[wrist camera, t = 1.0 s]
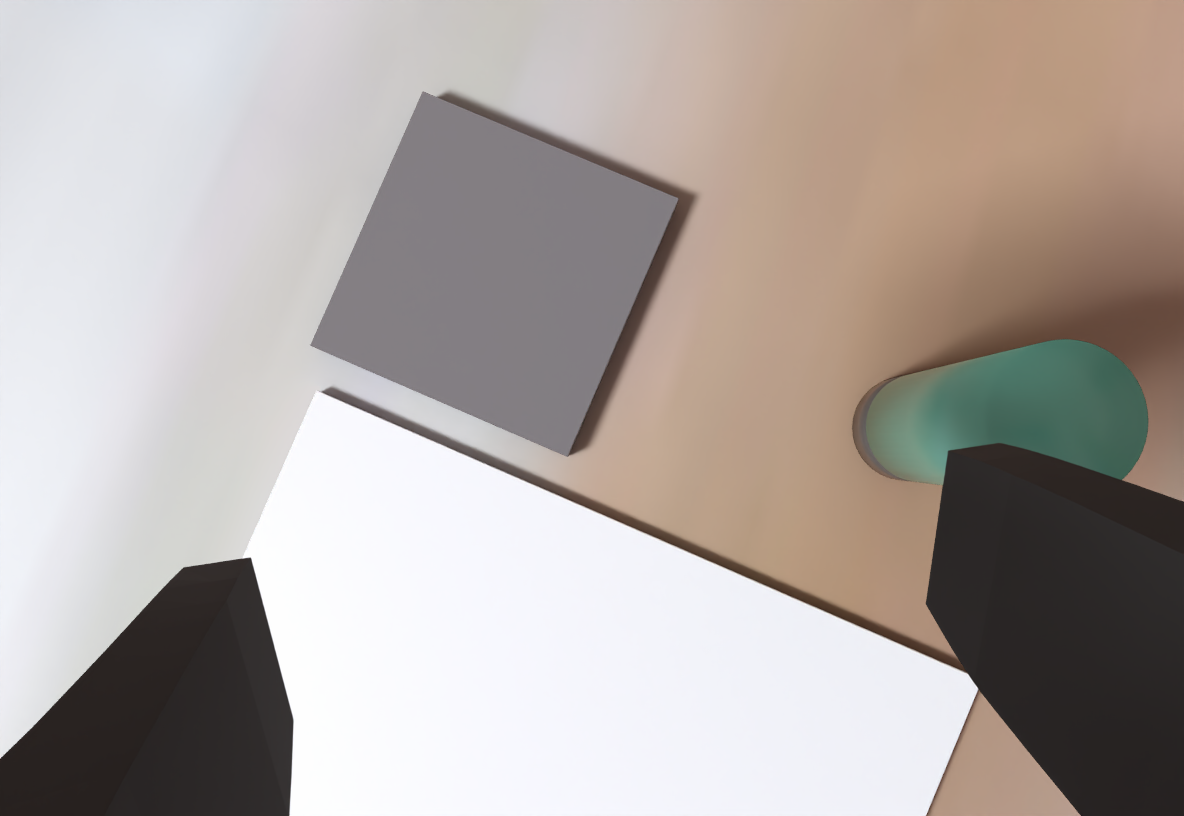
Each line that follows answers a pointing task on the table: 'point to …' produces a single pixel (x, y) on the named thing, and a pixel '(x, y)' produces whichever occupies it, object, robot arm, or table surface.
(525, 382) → the grey square tile
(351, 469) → the notepad
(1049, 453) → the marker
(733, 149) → the table surface
